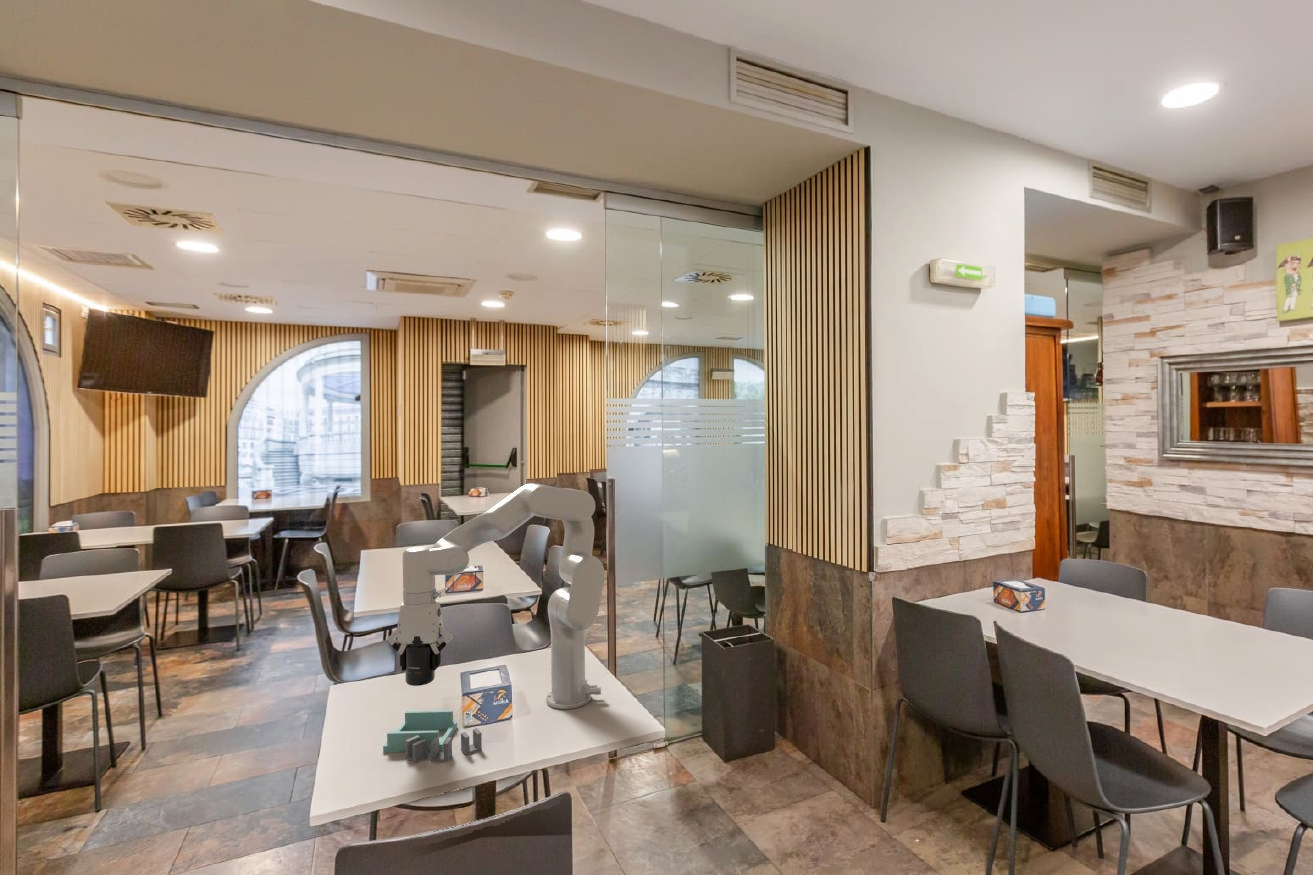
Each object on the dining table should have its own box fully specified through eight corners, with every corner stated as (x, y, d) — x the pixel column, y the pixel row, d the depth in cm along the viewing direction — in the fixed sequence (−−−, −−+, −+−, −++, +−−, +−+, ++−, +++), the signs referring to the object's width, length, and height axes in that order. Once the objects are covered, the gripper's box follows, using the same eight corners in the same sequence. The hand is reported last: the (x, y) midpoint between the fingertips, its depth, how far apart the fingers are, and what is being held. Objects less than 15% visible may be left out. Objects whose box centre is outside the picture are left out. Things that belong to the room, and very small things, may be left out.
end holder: (457, 727, 160) (456, 709, 160) (442, 751, 148) (441, 732, 148) (402, 728, 160) (402, 711, 160) (383, 752, 148) (382, 733, 148)
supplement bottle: (407, 688, 149) (406, 639, 149) (404, 679, 155) (403, 631, 155) (437, 683, 152) (436, 634, 152) (433, 673, 158) (432, 627, 158)
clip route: (484, 745, 150) (484, 727, 150) (475, 762, 143) (475, 743, 143) (414, 746, 150) (413, 729, 150) (401, 763, 142) (401, 745, 142)
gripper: (459, 592, 158) (460, 662, 158) (390, 593, 157) (391, 663, 157) (449, 600, 150) (450, 673, 150) (377, 601, 150) (378, 675, 150)
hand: (420, 668), depth 154 cm, fingers closed on supplement bottle, 6 cm apart
